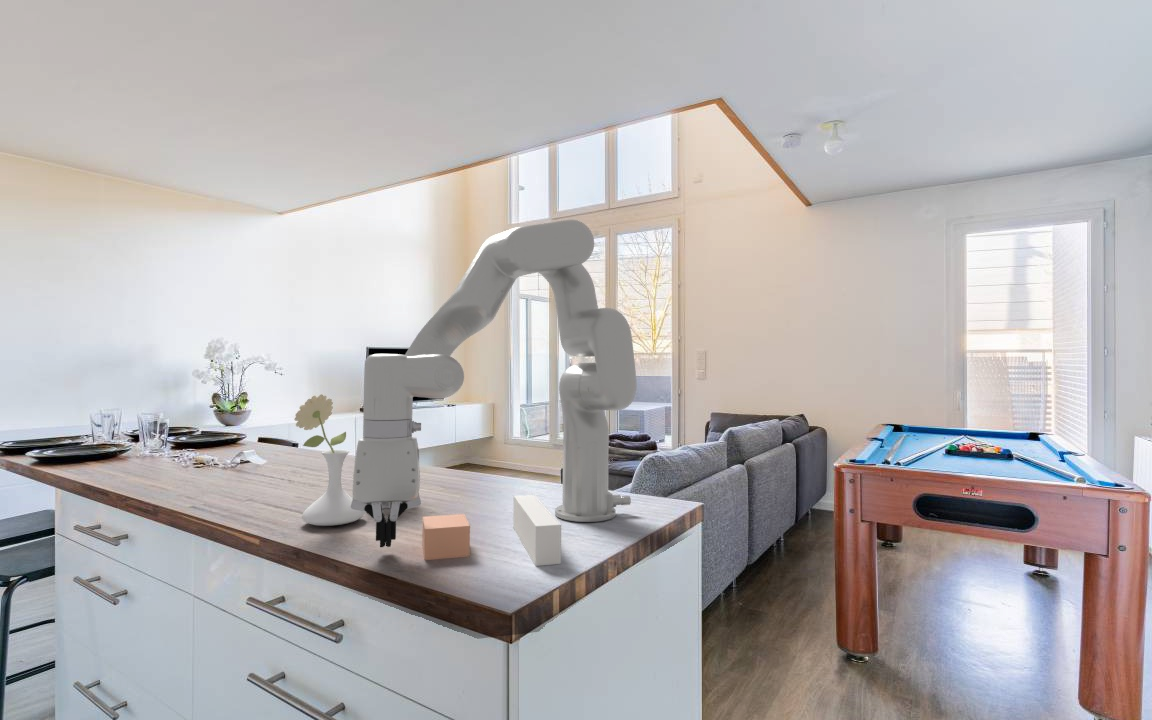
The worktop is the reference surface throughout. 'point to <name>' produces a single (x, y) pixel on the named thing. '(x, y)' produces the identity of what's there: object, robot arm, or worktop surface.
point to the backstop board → (537, 530)
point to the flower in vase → (335, 500)
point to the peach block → (445, 536)
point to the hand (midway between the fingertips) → (385, 544)
